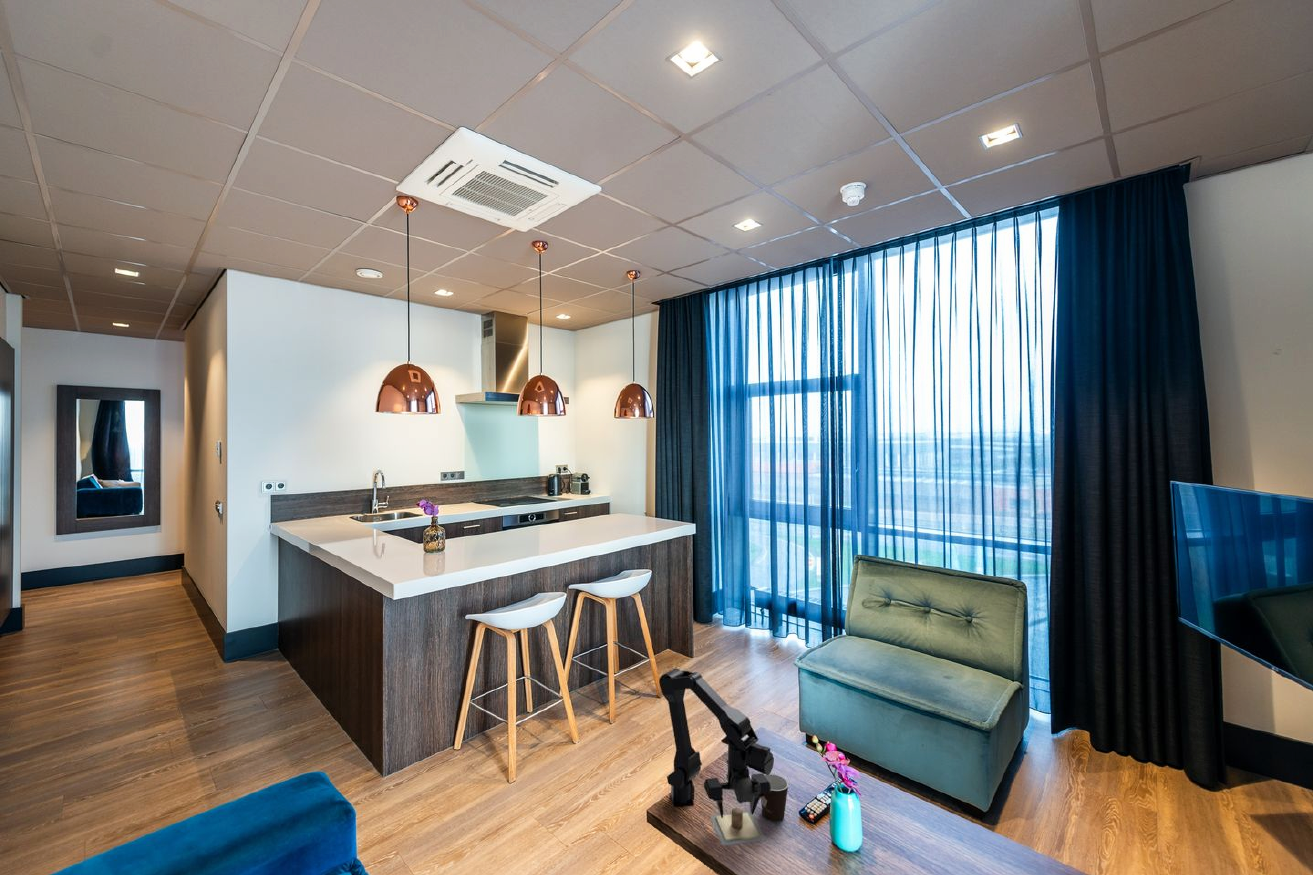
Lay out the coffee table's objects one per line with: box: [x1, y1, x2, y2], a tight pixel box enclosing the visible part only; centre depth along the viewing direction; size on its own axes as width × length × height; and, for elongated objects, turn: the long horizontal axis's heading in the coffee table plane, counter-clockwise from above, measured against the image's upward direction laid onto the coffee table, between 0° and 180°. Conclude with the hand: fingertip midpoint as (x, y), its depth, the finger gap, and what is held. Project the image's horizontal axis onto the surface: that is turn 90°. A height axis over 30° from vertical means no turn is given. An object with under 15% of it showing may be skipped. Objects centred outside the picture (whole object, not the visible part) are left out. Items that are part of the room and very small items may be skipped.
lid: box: [716, 807, 760, 841], centre depth 160 cm, size 10×10×4 cm
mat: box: [709, 810, 767, 847], centre depth 160 cm, size 13×13×1 cm
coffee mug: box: [760, 773, 789, 823], centre depth 168 cm, size 12×9×10 cm
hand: (736, 815), depth 160 cm, fingers open, 9 cm apart
